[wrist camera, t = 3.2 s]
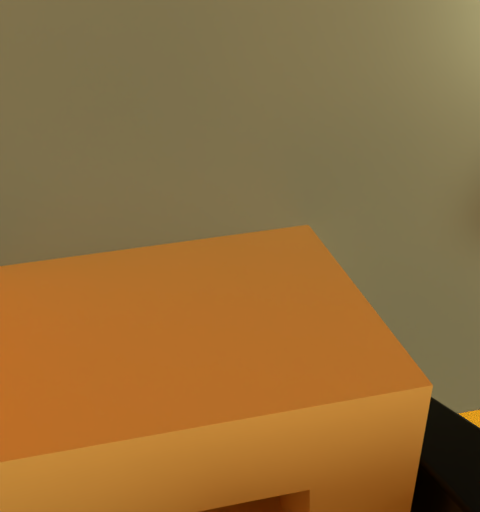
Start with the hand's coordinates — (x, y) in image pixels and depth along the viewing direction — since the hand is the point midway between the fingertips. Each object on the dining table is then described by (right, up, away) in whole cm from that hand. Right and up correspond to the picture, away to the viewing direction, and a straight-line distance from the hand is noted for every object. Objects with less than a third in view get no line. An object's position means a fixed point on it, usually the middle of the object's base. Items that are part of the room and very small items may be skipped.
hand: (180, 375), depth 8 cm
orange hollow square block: (0, 0, 0) cm, 0 cm away
